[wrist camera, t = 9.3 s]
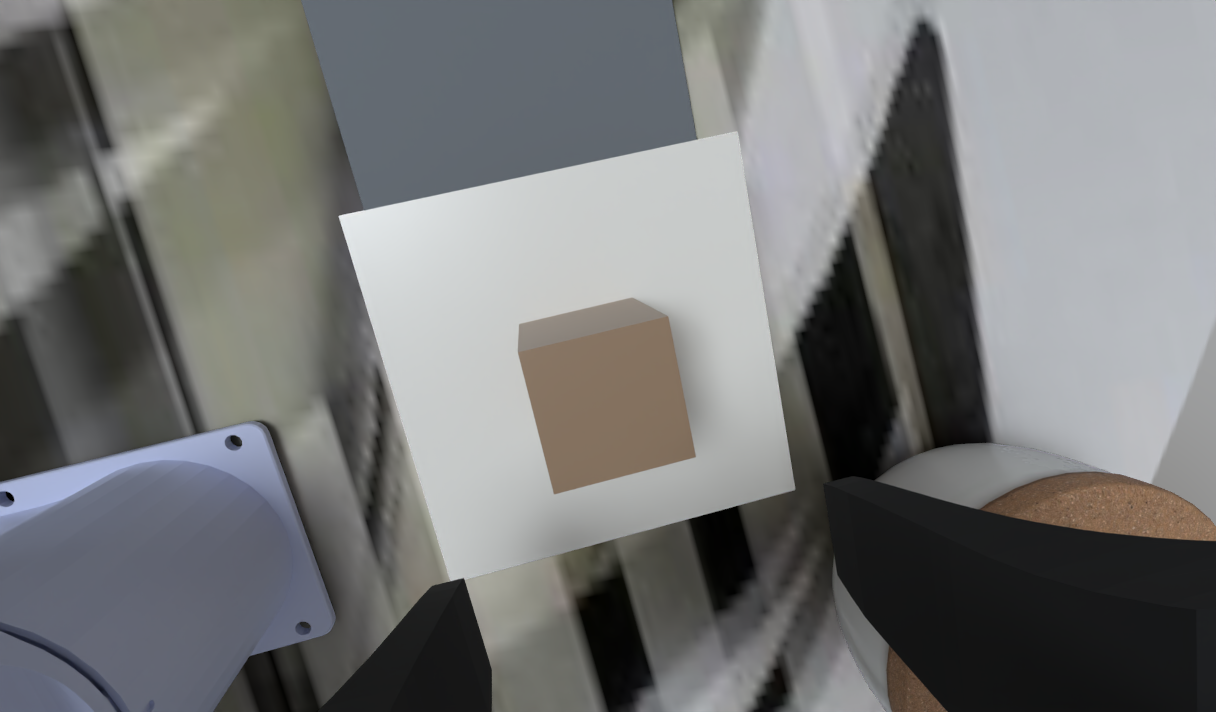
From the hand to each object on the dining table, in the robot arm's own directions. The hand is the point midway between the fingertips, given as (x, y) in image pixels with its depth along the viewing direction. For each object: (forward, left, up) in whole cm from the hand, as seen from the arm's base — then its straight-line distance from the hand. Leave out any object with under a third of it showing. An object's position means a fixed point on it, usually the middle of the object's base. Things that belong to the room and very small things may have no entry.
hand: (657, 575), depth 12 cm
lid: (0, +3, -6) cm, 7 cm away
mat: (0, +13, -10) cm, 17 cm away
